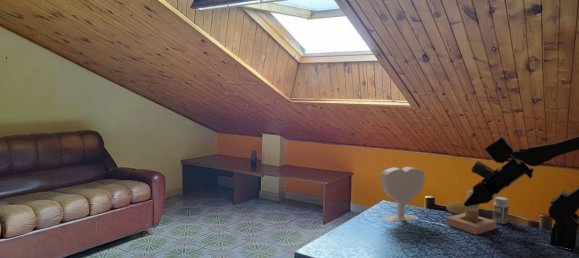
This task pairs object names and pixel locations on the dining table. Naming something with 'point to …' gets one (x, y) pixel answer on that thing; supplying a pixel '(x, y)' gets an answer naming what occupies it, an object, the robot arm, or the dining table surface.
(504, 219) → the pill bottle
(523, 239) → the dining table surface
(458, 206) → the bread roll
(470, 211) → the beech peg
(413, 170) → the heart sculpture
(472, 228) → the socket collar
